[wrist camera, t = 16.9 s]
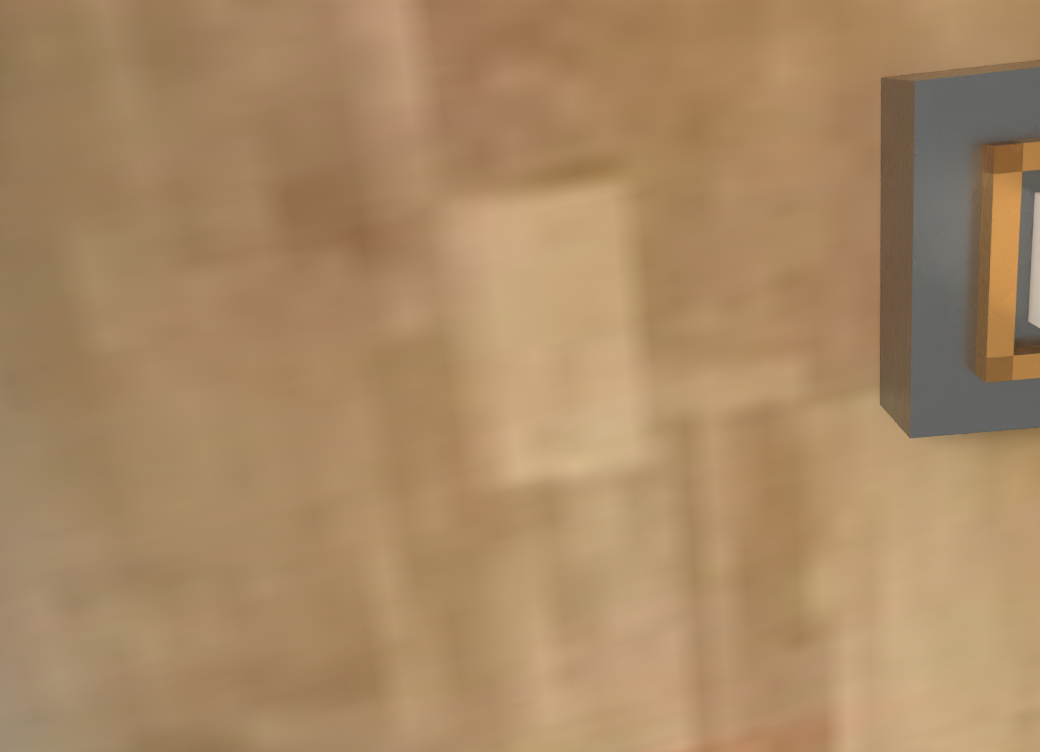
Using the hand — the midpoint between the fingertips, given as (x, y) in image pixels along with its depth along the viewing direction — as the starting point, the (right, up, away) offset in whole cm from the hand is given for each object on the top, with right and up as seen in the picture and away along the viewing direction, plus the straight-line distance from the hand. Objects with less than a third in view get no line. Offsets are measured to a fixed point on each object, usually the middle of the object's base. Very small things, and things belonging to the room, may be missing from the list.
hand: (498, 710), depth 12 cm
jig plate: (+22, +10, +29) cm, 38 cm away
